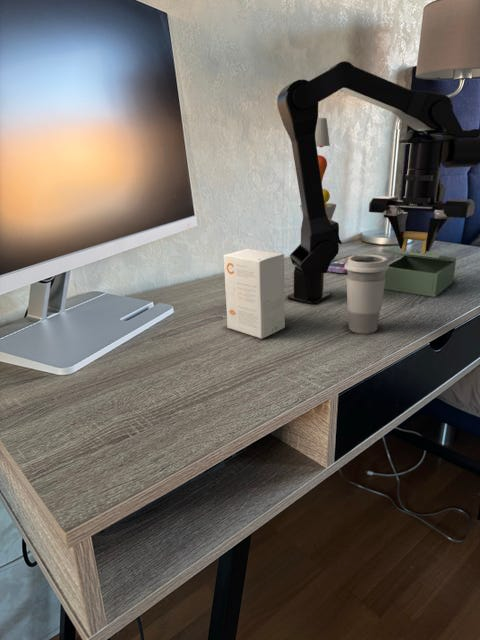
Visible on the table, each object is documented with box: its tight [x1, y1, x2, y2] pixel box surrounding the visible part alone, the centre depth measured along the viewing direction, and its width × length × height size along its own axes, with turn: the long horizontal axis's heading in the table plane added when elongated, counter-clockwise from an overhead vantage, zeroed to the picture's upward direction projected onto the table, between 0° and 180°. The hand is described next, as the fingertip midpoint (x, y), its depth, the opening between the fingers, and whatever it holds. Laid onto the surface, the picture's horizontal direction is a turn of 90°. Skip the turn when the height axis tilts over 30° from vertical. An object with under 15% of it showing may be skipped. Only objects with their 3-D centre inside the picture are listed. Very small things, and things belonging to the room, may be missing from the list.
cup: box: [345, 253, 389, 335], centre depth 73 cm, size 7×7×12 cm
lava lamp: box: [299, 117, 337, 262], centre depth 111 cm, size 9×9×35 cm
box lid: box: [381, 230, 457, 262], centre depth 93 cm, size 13×11×5 cm
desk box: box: [384, 255, 457, 298], centre depth 95 cm, size 12×11×5 cm
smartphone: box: [327, 255, 351, 274], centre depth 113 cm, size 1×7×15 cm
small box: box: [223, 248, 286, 339], centre depth 74 cm, size 8×6×13 cm
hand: (414, 249), depth 90 cm, fingers closed on box lid, 5 cm apart
